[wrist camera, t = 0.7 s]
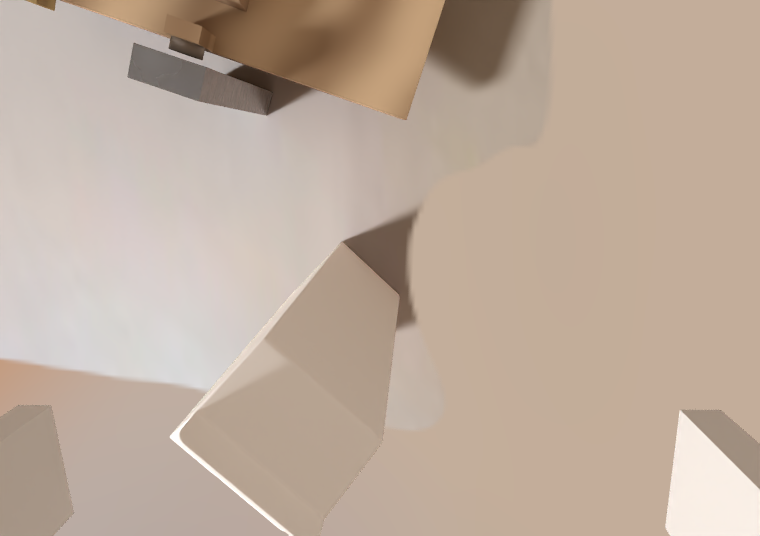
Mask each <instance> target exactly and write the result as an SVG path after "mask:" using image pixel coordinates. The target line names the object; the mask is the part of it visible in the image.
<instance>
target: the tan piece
mask: <svg viewBox="0 0 760 536" xmlns="http://www.w3.org/2000/svg"><path fill="white" fill-rule="evenodd" d="M26 1H29V2H31V3H34V4H36V5H39V6H42V7H44V8H47V9H50V10H53V11H54V10H55V3H56V0H26ZM61 1H64V2H67V3H69V4H72V5H75V6H78V7H81V8H84V9H87V10H90V11H92V12H95V13H98V14H101V15H104V16H107V17H110V18H113V19H115V20H118V21H121V22H124V23H127V24H130V25H133V26H136V27H138V28H141V29H144V30H147V31H150V32H153V33H156V34H159V35H161V36H164V37H167V38H170V44H169V49H171V50H174V51H177V52H179V53H182V54H185V55H188V56H191V57H194V58H197V59H200V60H203V55H204V51H207V52H210V53H213V54H216V55H219V56H222V57H225V58H227V59H230V60H233V61H236V62H239V63H242V64H245V65H248V66H250V67H253V68H256V69H259V70H262V71H265V72H268V73H271V74H273V75H276V76H279V77H282V78H285V79H288V80H291V81H294V82H296V83H299V84H302V85H305V86H308V87H311V88H314V89H316V90H319V91H322V92H325V93H328V94H331V95H334V96H337V97H339V98H342V99H345V100H348V101H351V102H354V103H357V104H360V105H362V106H365V107H368V108H371V109H374V110H377V111H380V112H383V113H385V114H388V115H391V116H394V117H397V118H400V119H403V120H406V119H407V116H408V113H409V110H410V107H411V104H412V101H413V98H414V95H415V92H416V88H417V85H418V82H419V79H420V76H421V73H422V70H423V67H424V64H425V61H426V58H427V55H428V52H429V49H430V46H431V42H432V39H433V36H434V33H435V30H436V27H437V24H438V21H439V18H440V15H441V12H442V9H443V6H444V3H445V0H249V4H248V8H247V12H245V11H242V10H240V9H237V8H234V7H232V6H229V5H226V4H224V3H221V2H218V1H215V0H61Z"/></svg>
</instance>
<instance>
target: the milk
mask: <svg viewBox="0 0 760 536" xmlns="http://www.w3.org/2000/svg"><path fill="white" fill-rule="evenodd" d="M399 298H400V296H399V294H398V293H397V292H395V291H394V290H393V289H392V288H391V287H390V286H389V285H388V284H387V283H386V282H385V281H384V280H383V279H382V278H381V277H380V276H378V275H377V274H376V273H375V272H374V271H373V270H372V269H371V268H370V267H369V266H368V265H367V264H366V263H365V262H364V261H362V260H361V259H360V258H359V257H358V256H357V255H356V254H355V253H354V252H353V251H352V250H351V249H350V248H349V247H348V246H346V245H345V244H344V243H343V242H341V243H340V244H339V245H338V246H337V247H336V248H335V249H334V250H333V251H332V252H331V253H330V254H329V255H328V256H327V257H326V258H325V259H324V261H323V262H322V263H321V264H320V265H319V266H318V267H317V268H316V269H315V270H314V271H313V272H312V273H311V274H310V275H309V276H308V277H307V278H306V279H305V281H304V282H303V283H302V284H301V285H300V286H299V287H298V288H297V289H296V290H295V291H294V292H293V293H292V294H291V295H290V296H289V298H288V299H287V300H286V301H285V302H284V303H283V305H282V306H281V307H280V308H279V309H278V310H277V312H276V313H275V314H274V315H273V316H272V317H271V319H270V320H269V321H268V322H267V323H266V324H265V326H264V327H263V328H262V329H261V330H260V331H259V333H258V334H257V335H256V336H255V337H254V338H253V340H252V341H251V342H250V343H249V344H248V345H247V347H246V348H245V349H244V350H243V351H242V352H241V354H240V355H239V356H238V357H237V358H236V359H235V361H234V362H233V363H232V364H231V365H230V366H229V368H228V369H227V370H226V371H225V372H224V373H223V375H222V376H221V377H220V378H219V379H218V380H217V382H216V383H215V384H214V385H213V386H212V387H211V389H210V390H209V391H208V392H207V393H206V395H205V396H204V397H203V398H202V399H201V400H200V402H199V403H198V404H197V405H196V406H195V407H194V408H193V410H192V411H191V412H190V413H189V414H188V416H187V417H186V418H185V419H184V420H183V421H182V422H181V424H180V425H179V426H178V427H177V429H175V431H174V432H173V433H172V434H171V435H170V438H171V439H172V440H173V441H175V442H176V443H177V444H178V445H180V447H182V448H183V449H184V450H185V451H186V452H188V453H189V454H190V455H191V456H192V457H194V458H195V459H196V460H197V461H198V462H200V463H201V464H202V465H203V466H204V467H206V468H207V469H208V470H209V471H210V472H212V473H213V474H214V475H215V476H217V477H218V478H219V479H220V480H221V481H222V482H224V483H225V484H226V485H227V486H228V487H230V488H231V489H232V490H233V491H235V492H236V493H237V494H238V495H239V496H240V497H242V498H243V499H244V500H245V501H246V502H248V503H249V504H250V505H252V507H254V508H255V509H256V510H257V511H258V512H260V513H261V514H262V515H263V516H265V517H266V518H267V519H268V520H269V521H271V522H272V523H273V524H274V525H275V526H277V527H278V528H279V529H280V530H282V531H285V532H286V533H287V534H289V535H290V536H320V534H321V530H322V526H323V522H324V519H325V518H326V516H327V515H328V514H329V513H330V511H331V510H332V509H333V507H334V506H335V505H336V503H337V502H338V501H339V499H340V498H341V497H342V495H343V494H344V493H345V491H346V490H347V489H348V487H349V486H350V485H351V484H352V482H353V481H354V480H355V478H356V477H357V476H358V474H359V473H360V472H361V470H362V469H363V468H364V466H365V465H366V464H367V462H368V461H369V460H370V459H371V457H372V456H373V455H374V453H375V452H376V451H377V449H378V448H379V447H380V445H381V444H382V441H383V434H384V426H385V417H386V409H387V400H388V392H389V383H390V375H391V366H392V358H393V349H394V341H395V332H396V324H397V315H398V307H399Z"/></svg>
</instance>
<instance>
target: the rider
mask: <svg viewBox="0 0 760 536" xmlns="http://www.w3.org/2000/svg"><path fill="white" fill-rule="evenodd" d="M215 1H218V2H221V3H224V4H226V5H229V6H232V7H234V8H237V9H240V10H242V11H245V12H247V8H248V4H249V0H215Z"/></svg>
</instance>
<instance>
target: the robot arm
mask: <svg viewBox="0 0 760 536" xmlns="http://www.w3.org/2000/svg"><path fill="white" fill-rule="evenodd" d="M73 514H74V510H73V506H72V501H71V496H70V491H69V487H68V482H67V478H66V473H65V468H64V463H63V458H62V454H61V449H60V444H59V440H58V435H57V430H56V426H55V421H54V416H53V411H52V407H51V406H49V405H48V406H47V405H41V406H40V405H18V406H16V407H15V408H13V409H12V410H10V411H9V412H7V413H6V414H4V415H3V416H1V417H0V536H53V535H54V534H55V533H56V532H57V531H58V530H59V529H60V528H61V527H62V526H63V525H64V523H66V521H67V520H68V519H69V518H70V517H71V516H72V515H73ZM665 528H666V529H667V531H668V533H669V534H670V536H760V444H759V443H758V442H757V441H756V440H755V439H754V438H752V437H751V436H750V435H749V434H748V433H747V432H745V431H744V430H743V429H742V428H741V427H740V426H739V425H737V424H736V423H735V422H734V421H733V420H732V419H730V418H729V417H728V416H727V415H726V414H725V413H724V412H722V411H721V410H680V413H679V421H678V429H677V438H676V446H675V454H674V462H673V470H672V478H671V486H670V494H669V502H668V510H667V519H666V526H665Z"/></svg>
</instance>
